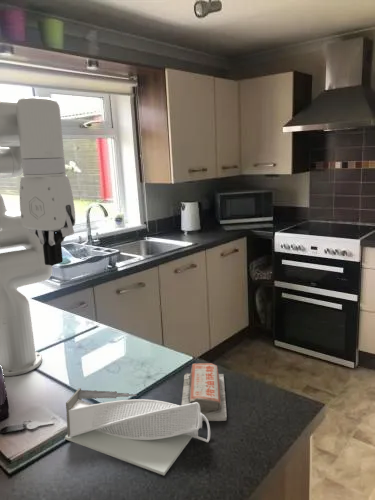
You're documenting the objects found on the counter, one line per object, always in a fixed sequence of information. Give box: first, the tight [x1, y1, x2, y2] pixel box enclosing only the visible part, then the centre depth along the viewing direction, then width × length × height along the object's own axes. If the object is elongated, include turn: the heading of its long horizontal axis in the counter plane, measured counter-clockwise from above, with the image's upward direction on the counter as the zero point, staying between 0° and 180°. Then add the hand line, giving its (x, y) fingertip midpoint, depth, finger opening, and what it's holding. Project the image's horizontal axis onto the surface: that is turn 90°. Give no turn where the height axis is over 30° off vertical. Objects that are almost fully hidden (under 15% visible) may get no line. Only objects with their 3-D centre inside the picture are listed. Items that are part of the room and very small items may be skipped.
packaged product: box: [181, 362, 228, 422], centre depth 96 cm, size 18×5×10 cm
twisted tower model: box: [65, 387, 211, 443], centre depth 83 cm, size 8×8×28 cm
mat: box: [64, 430, 193, 476], centre depth 83 cm, size 23×11×1 cm, turn 63°
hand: (54, 263), depth 81 cm, fingers closed
